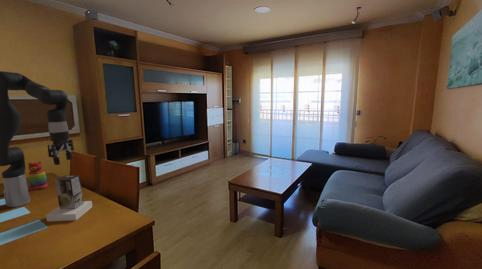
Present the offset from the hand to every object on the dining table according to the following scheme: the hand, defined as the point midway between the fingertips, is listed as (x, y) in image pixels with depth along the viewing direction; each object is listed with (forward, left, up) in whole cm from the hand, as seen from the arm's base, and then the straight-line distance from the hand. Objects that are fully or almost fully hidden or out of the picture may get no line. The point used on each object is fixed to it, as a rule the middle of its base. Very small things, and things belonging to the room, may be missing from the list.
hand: (63, 162), depth 115 cm
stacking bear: (-46, +38, -29) cm, 66 cm away
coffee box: (0, +2, -25) cm, 25 cm away
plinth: (0, 0, -29) cm, 29 cm away
